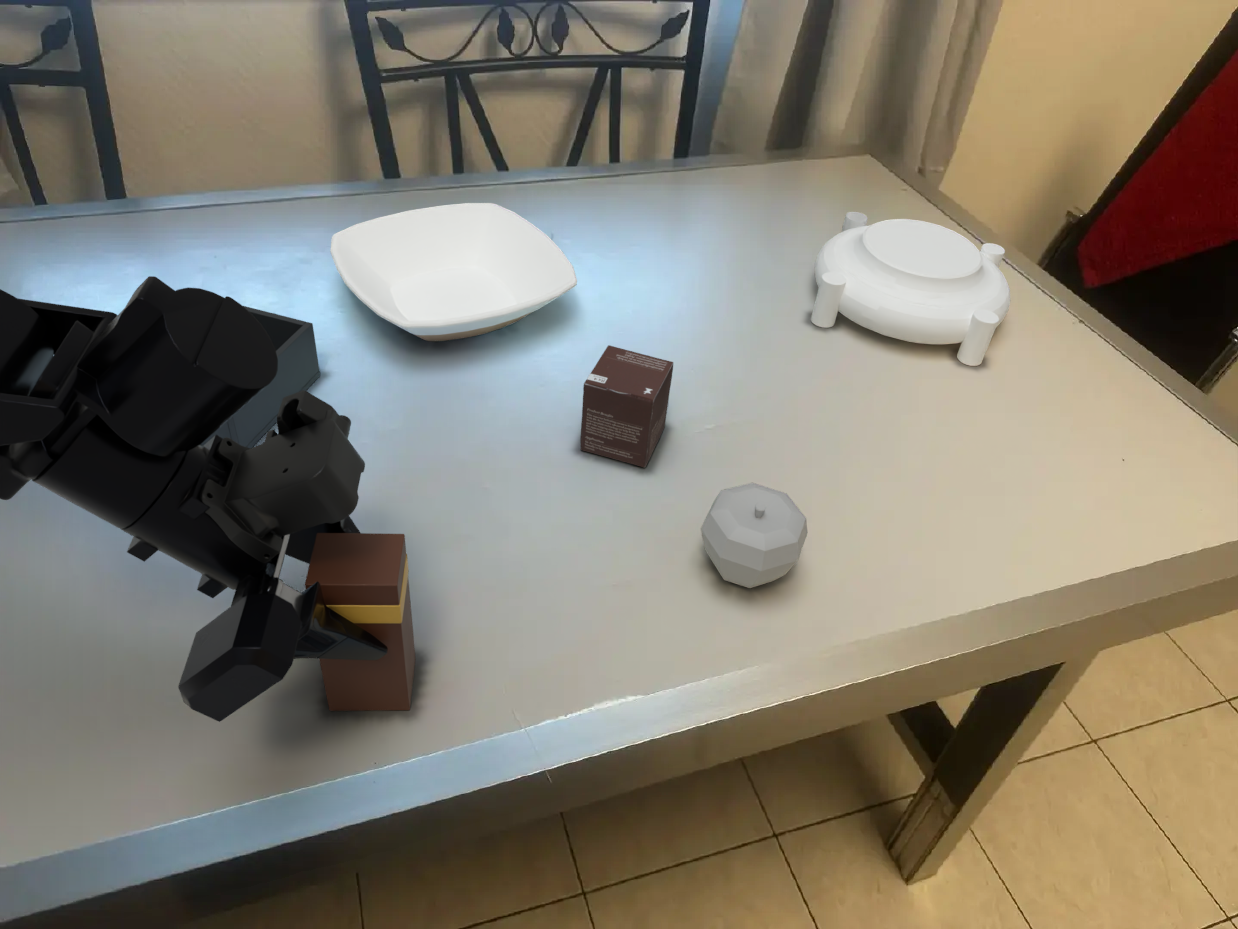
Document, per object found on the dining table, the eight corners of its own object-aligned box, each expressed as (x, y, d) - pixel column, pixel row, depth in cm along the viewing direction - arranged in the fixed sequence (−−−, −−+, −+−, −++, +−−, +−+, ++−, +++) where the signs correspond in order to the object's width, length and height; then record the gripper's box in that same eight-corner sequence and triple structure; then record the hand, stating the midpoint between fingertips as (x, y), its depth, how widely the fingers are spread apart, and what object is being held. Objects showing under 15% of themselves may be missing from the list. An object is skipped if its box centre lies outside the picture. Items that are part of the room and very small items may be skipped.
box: (666, 429, 84) (676, 361, 79) (645, 470, 80) (654, 401, 75) (601, 411, 85) (607, 342, 81) (577, 451, 81) (582, 381, 76)
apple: (736, 516, 77) (751, 455, 72) (817, 571, 73) (837, 509, 69) (671, 565, 72) (682, 503, 68) (753, 626, 68) (771, 564, 64)
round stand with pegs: (919, 238, 116) (937, 183, 112) (1063, 344, 101) (1091, 285, 96) (753, 267, 107) (764, 208, 103) (882, 389, 92) (903, 326, 87)
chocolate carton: (328, 711, 60) (303, 585, 52) (338, 658, 63) (316, 531, 55) (410, 711, 61) (398, 586, 53) (416, 658, 64) (405, 532, 56)
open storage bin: (110, 421, 79) (92, 365, 75) (200, 344, 88) (188, 291, 84) (242, 458, 77) (229, 403, 73) (320, 375, 86) (312, 323, 82)
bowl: (501, 235, 108) (501, 191, 104) (601, 332, 95) (605, 286, 91) (312, 275, 98) (306, 229, 95) (395, 390, 85) (390, 341, 82)
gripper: (200, 536, 39) (474, 694, 48) (287, 295, 53) (488, 450, 61) (55, 655, 43) (330, 779, 52) (171, 403, 57) (373, 533, 66)
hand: (388, 619), depth 58 cm, fingers open, 5 cm apart
